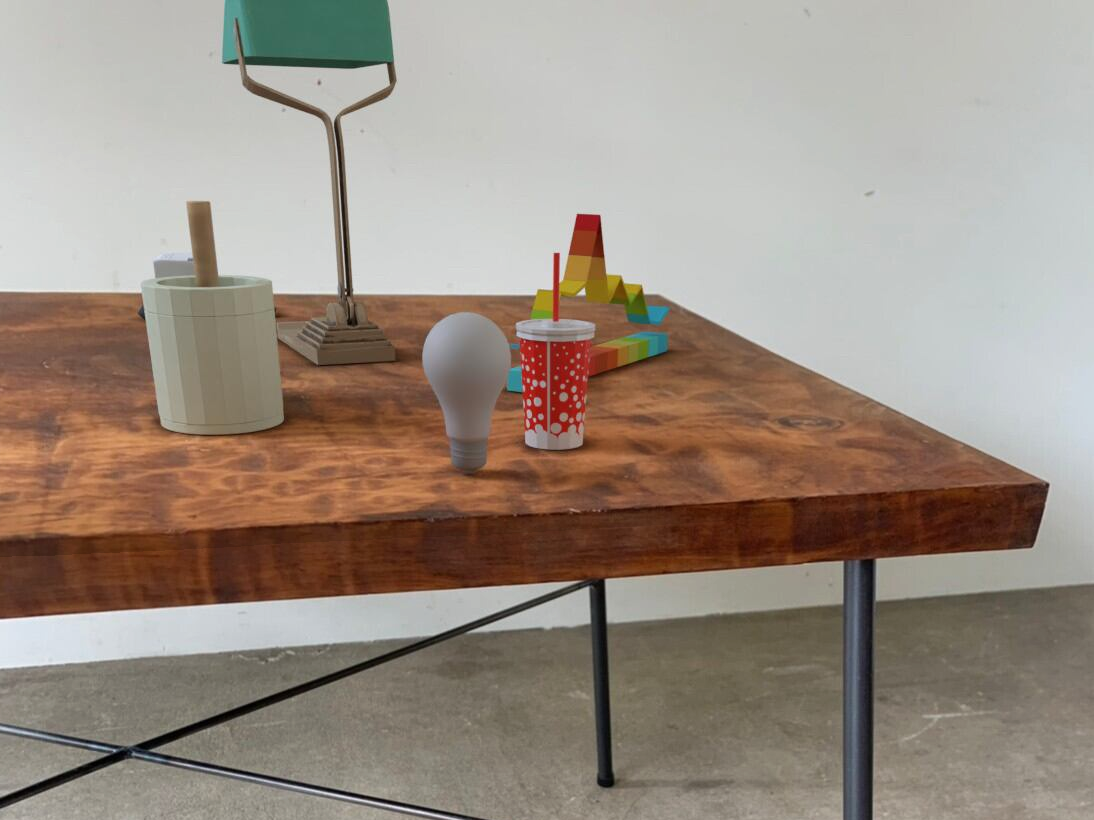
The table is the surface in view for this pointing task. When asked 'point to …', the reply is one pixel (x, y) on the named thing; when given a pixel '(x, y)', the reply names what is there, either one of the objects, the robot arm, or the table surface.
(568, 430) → the beverage cup
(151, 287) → the jar
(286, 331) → the banker's lamp
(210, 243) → the brush
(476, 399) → the lightbulb
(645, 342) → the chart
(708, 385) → the table surface
